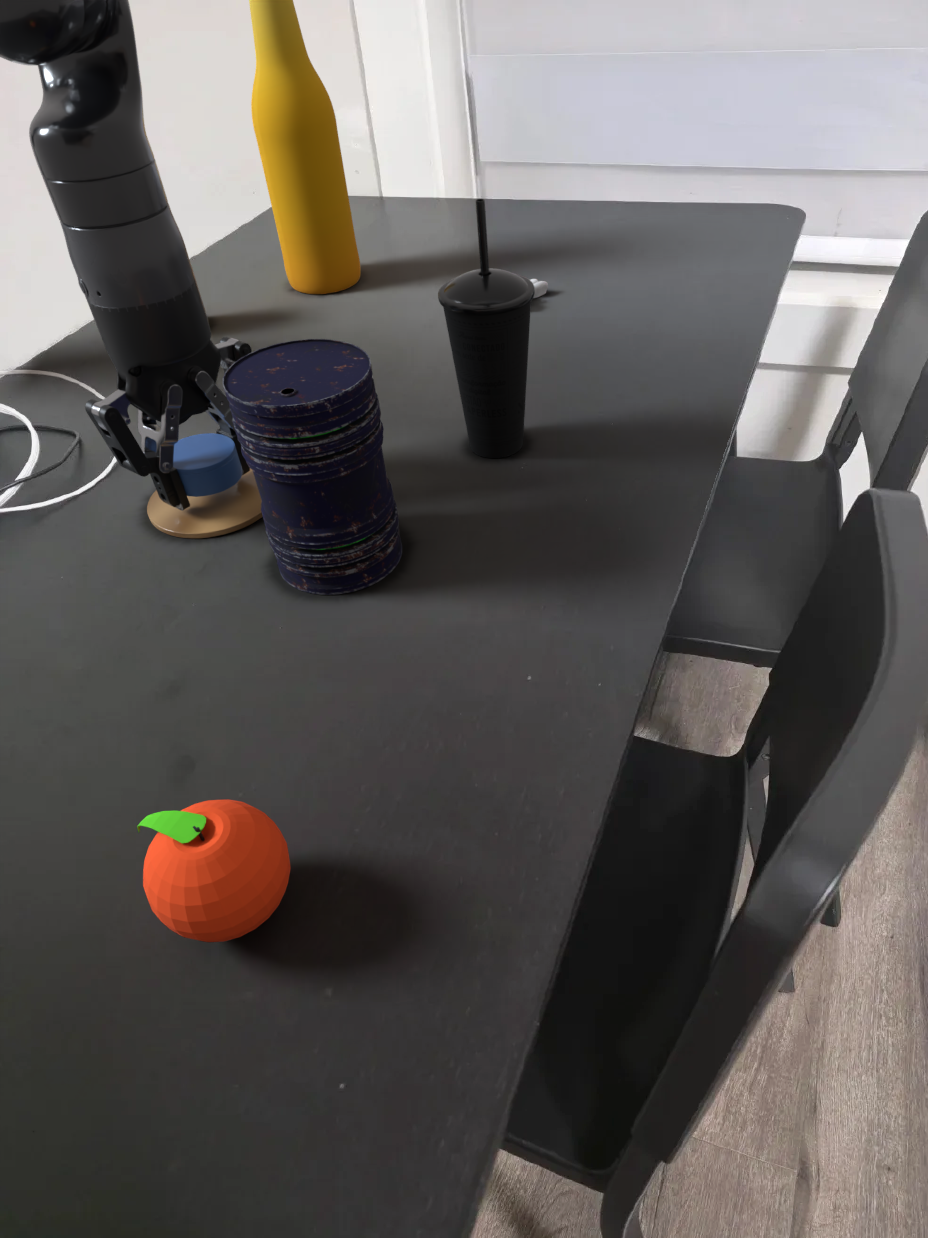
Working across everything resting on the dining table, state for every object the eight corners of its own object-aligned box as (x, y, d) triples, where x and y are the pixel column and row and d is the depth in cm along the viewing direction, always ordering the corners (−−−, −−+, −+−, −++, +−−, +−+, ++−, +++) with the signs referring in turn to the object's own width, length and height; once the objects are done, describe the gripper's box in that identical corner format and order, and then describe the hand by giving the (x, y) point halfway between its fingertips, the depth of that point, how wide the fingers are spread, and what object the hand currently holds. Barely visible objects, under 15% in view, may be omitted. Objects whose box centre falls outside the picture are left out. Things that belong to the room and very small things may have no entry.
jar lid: (177, 463, 72) (167, 436, 71) (245, 455, 73) (238, 429, 71) (166, 500, 68) (156, 473, 66) (239, 492, 68) (231, 465, 67)
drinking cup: (473, 475, 73) (449, 224, 58) (442, 435, 78) (414, 195, 63) (553, 453, 74) (549, 204, 60) (518, 416, 80) (506, 178, 65)
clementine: (126, 936, 43) (67, 860, 38) (205, 829, 48) (162, 748, 43) (257, 986, 41) (214, 913, 36) (328, 869, 46) (298, 789, 40)
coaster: (126, 536, 69) (124, 531, 68) (179, 464, 76) (177, 459, 76) (255, 540, 67) (253, 535, 67) (295, 467, 75) (294, 462, 75)
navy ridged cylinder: (292, 519, 69) (242, 340, 59) (410, 516, 69) (382, 335, 58) (263, 597, 62) (201, 409, 52) (395, 595, 62) (359, 405, 51)
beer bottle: (375, 282, 105) (328, -16, 85) (307, 301, 102) (242, -5, 81) (342, 262, 111) (291, -22, 90) (277, 280, 108) (209, -11, 87)
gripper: (79, 330, 54) (168, 545, 66) (252, 258, 61) (303, 462, 73) (16, 306, 57) (112, 515, 69) (188, 241, 65) (247, 438, 77)
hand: (210, 487), depth 71 cm, fingers closed on jar lid, 5 cm apart
